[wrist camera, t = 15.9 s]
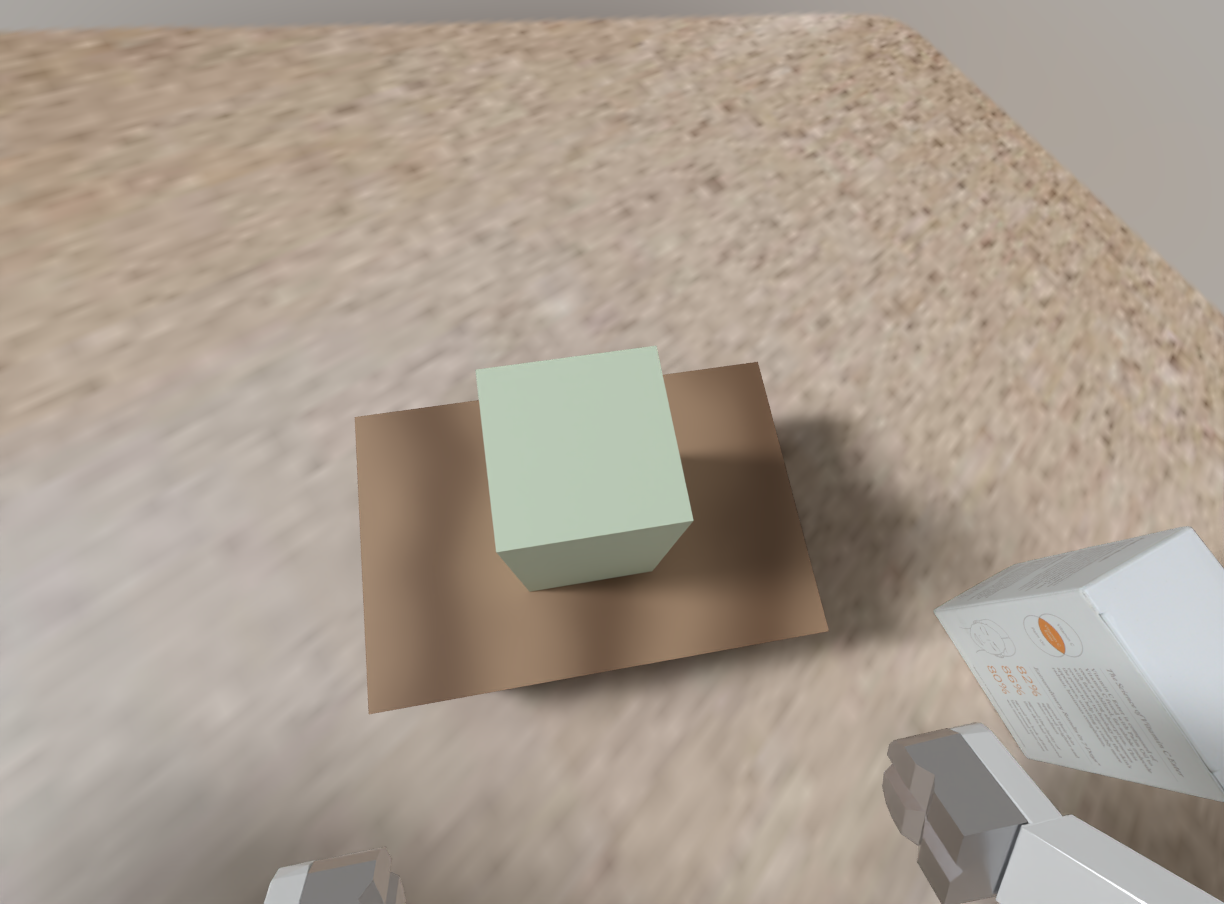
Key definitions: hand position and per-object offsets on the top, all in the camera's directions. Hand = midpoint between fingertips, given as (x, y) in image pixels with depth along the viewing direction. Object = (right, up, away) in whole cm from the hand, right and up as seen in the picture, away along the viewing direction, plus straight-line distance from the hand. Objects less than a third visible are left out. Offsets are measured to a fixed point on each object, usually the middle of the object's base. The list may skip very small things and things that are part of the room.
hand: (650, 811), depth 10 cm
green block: (-2, +3, +16) cm, 16 cm away
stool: (-2, +1, +23) cm, 23 cm away
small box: (+20, -5, +22) cm, 30 cm away
